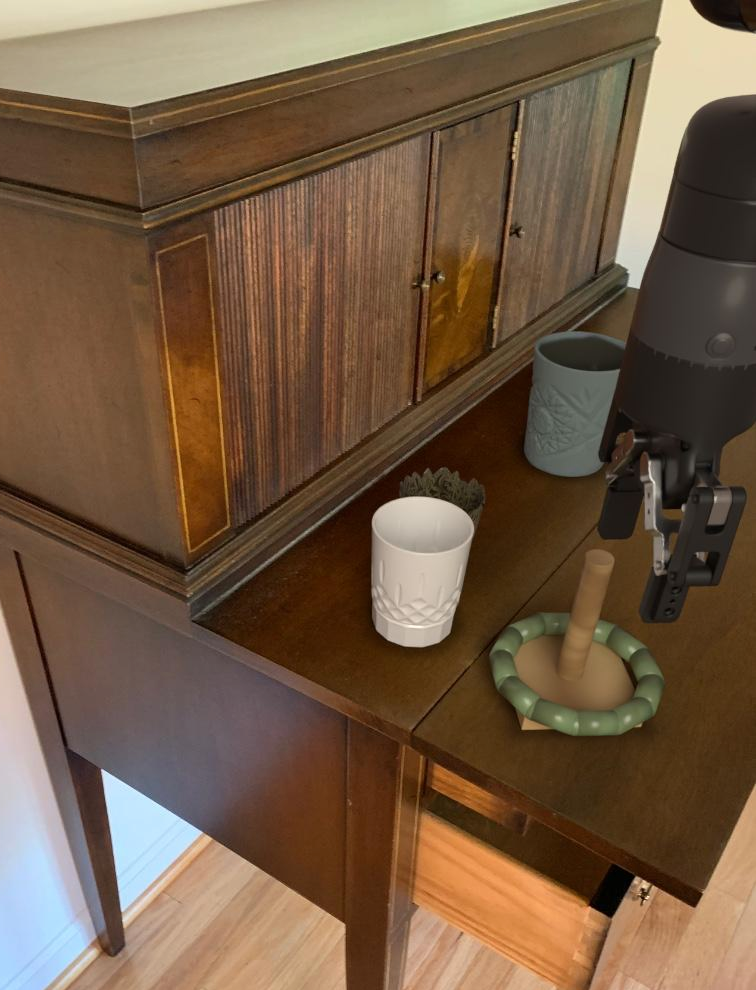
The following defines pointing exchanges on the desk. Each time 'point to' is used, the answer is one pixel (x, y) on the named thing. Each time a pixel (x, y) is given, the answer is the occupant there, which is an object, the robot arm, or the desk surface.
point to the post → (577, 653)
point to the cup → (447, 491)
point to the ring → (565, 717)
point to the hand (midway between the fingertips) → (633, 575)
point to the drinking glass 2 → (571, 401)
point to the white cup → (418, 568)
